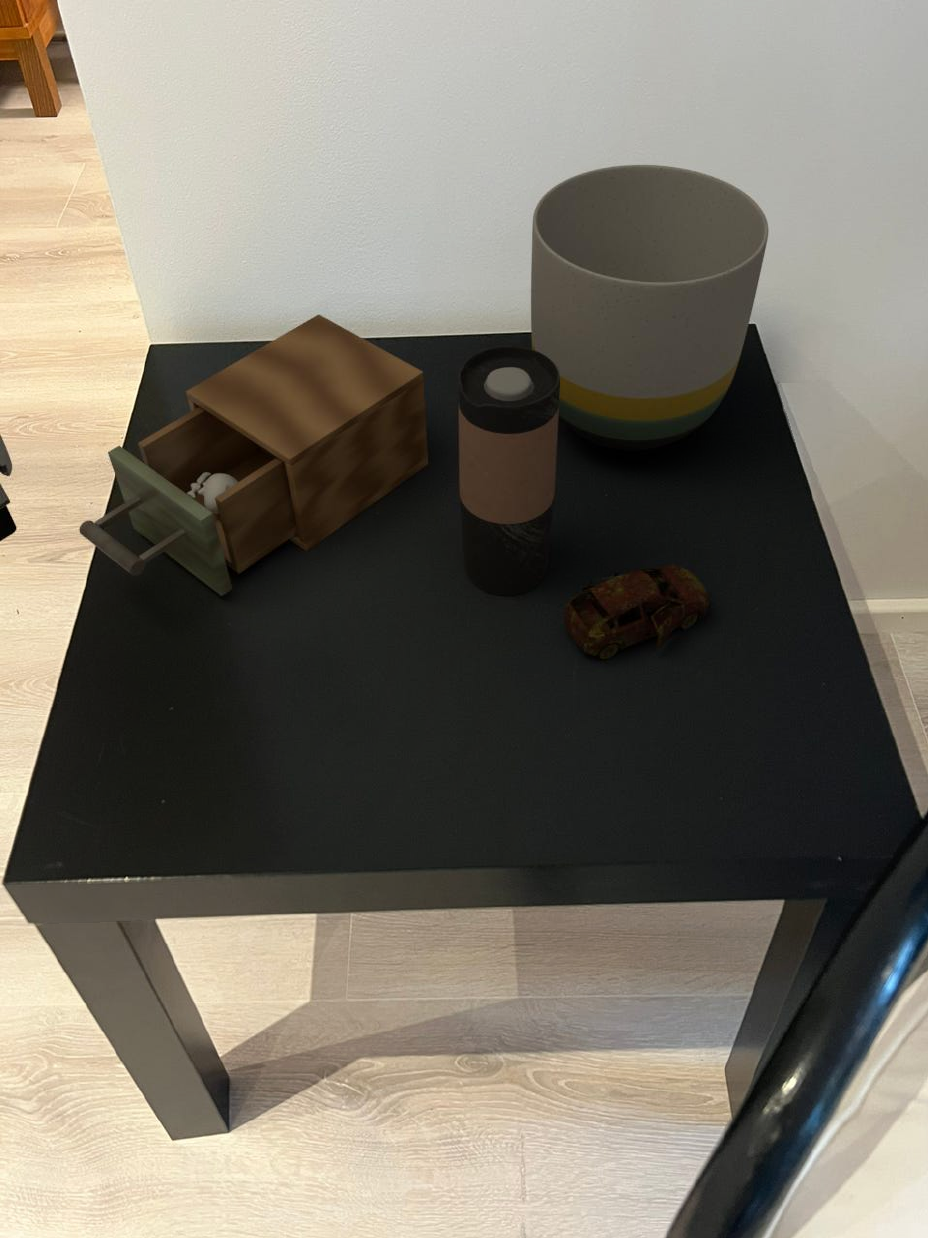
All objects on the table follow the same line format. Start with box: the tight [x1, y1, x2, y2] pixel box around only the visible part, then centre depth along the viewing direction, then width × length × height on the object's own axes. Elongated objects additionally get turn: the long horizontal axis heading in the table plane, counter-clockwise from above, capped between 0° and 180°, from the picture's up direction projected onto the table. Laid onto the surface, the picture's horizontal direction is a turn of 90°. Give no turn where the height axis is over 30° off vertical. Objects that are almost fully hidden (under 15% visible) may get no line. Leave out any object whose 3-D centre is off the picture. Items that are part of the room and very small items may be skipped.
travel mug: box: [457, 345, 560, 597], centre depth 87 cm, size 8×8×20 cm
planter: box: [530, 164, 769, 451], centre depth 99 cm, size 20×20×21 cm
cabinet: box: [185, 314, 429, 552], centre depth 99 cm, size 16×14×11 cm
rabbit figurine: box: [187, 472, 238, 514], centre depth 95 cm, size 6×4×8 cm
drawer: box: [78, 407, 298, 597], centre depth 93 cm, size 20×12×9 cm, turn 137°
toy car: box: [563, 564, 710, 660], centre depth 88 cm, size 12×7×5 cm, turn 115°
